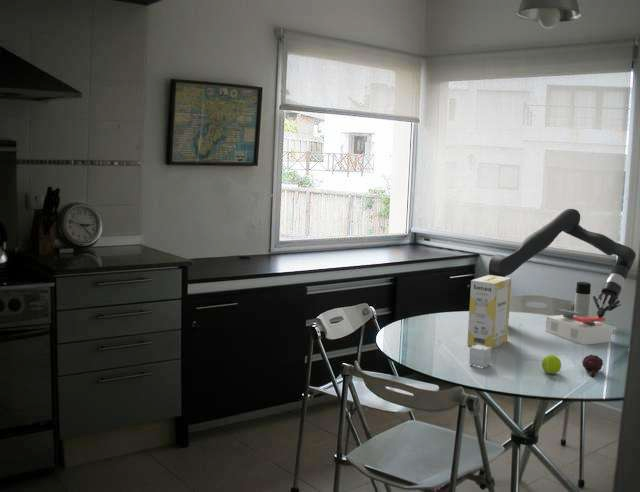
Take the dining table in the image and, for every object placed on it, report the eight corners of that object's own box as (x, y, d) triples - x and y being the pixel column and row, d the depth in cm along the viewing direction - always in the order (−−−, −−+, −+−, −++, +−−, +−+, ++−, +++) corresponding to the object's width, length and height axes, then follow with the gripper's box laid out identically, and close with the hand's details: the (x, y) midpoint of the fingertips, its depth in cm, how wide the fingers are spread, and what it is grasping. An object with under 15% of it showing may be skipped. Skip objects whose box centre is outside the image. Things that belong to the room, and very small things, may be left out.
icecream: (581, 349, 282) (579, 362, 269) (601, 347, 279) (600, 360, 265) (585, 366, 283) (582, 380, 269) (605, 364, 280) (603, 378, 266)
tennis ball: (556, 370, 275) (558, 353, 274) (563, 376, 268) (564, 358, 267) (538, 370, 274) (539, 352, 273) (544, 376, 267) (546, 358, 266)
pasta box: (490, 349, 301) (494, 283, 297) (467, 345, 307) (471, 280, 303) (507, 340, 315) (511, 277, 312) (484, 336, 322) (488, 274, 318)
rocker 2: (581, 322, 315) (581, 319, 315) (572, 320, 320) (572, 316, 320) (605, 321, 321) (605, 318, 320) (596, 318, 325) (597, 315, 325)
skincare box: (476, 362, 283) (477, 344, 282) (490, 365, 279) (491, 347, 278) (468, 365, 278) (469, 347, 277) (483, 369, 274) (484, 350, 273)
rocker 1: (561, 313, 326) (562, 310, 326) (553, 311, 331) (554, 307, 331) (584, 317, 332) (584, 314, 332) (576, 315, 337) (576, 312, 337)
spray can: (585, 321, 355) (589, 281, 353) (589, 325, 349) (592, 284, 346) (571, 321, 356) (575, 281, 353) (575, 324, 349) (578, 283, 347)
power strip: (583, 344, 313) (584, 326, 312) (545, 331, 334) (546, 313, 333) (611, 341, 319) (612, 323, 318) (572, 328, 341) (573, 311, 340)
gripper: (630, 293, 326) (616, 323, 319) (601, 288, 335) (587, 318, 329) (626, 283, 322) (611, 314, 315) (597, 278, 331) (582, 308, 324)
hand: (599, 316), depth 322 cm, fingers closed
